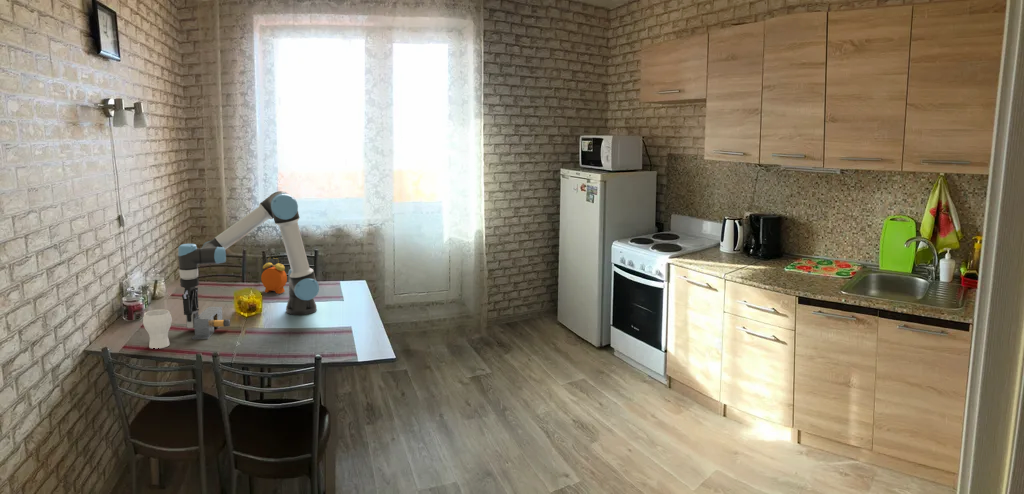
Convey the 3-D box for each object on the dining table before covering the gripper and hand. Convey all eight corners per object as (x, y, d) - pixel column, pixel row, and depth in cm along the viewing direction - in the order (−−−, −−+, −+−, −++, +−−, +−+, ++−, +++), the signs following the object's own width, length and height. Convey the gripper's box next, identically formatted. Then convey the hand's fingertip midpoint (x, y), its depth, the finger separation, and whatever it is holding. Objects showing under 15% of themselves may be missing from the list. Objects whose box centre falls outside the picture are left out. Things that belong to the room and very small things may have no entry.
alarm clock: (288, 291, 356) (286, 258, 352) (281, 294, 350) (280, 260, 346) (268, 289, 358) (266, 256, 355) (261, 291, 353) (260, 258, 349)
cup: (160, 351, 258) (158, 317, 256) (139, 348, 260) (136, 314, 258) (179, 343, 269) (176, 310, 266) (158, 340, 271) (155, 308, 268)
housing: (225, 322, 298) (224, 305, 297) (208, 339, 275) (207, 320, 273) (210, 322, 297) (209, 305, 296) (192, 339, 274) (190, 321, 272)
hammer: (230, 324, 289) (229, 310, 288) (227, 327, 285) (227, 313, 284) (190, 325, 286) (189, 311, 285) (186, 328, 282) (185, 313, 281)
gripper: (187, 273, 288) (190, 320, 292) (173, 282, 271) (176, 332, 276) (204, 273, 289) (207, 320, 293) (191, 282, 272) (194, 332, 277)
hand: (192, 326), depth 285 cm, fingers closed on hammer, 4 cm apart
